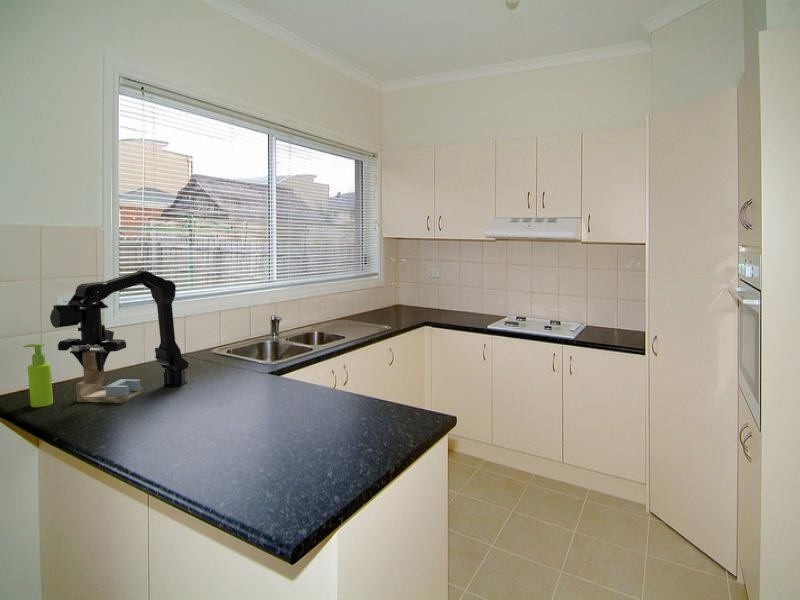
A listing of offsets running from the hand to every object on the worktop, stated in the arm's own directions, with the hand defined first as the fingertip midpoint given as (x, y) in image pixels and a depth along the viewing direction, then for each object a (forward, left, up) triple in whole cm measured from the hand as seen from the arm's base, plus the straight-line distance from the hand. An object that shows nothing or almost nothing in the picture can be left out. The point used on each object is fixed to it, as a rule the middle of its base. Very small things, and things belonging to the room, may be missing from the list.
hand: (93, 371), depth 155 cm
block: (-4, -10, -10) cm, 15 cm away
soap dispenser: (+19, -1, -12) cm, 22 cm away
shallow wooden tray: (+1, -10, -12) cm, 15 cm away
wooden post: (0, 0, -4) cm, 4 cm away
